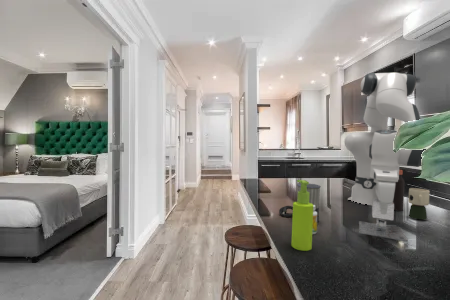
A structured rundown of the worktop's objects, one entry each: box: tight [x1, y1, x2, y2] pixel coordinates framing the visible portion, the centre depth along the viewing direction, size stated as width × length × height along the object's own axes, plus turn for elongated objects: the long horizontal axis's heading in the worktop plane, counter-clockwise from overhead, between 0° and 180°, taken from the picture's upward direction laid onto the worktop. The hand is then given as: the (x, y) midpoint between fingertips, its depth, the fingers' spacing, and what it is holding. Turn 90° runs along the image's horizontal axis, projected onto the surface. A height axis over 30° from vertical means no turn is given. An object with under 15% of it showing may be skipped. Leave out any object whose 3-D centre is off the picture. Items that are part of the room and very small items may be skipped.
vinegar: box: [393, 169, 405, 212], centre depth 123 cm, size 7×7×20 cm
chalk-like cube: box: [371, 199, 395, 221], centre depth 90 cm, size 6×6×6 cm
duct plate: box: [358, 218, 409, 242], centre depth 90 cm, size 14×14×4 cm
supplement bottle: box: [312, 205, 318, 235], centre depth 87 cm, size 5×5×10 cm
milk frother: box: [278, 182, 321, 225], centre depth 102 cm, size 14×16×15 cm
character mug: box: [407, 187, 431, 221], centre depth 107 cm, size 11×7×13 cm, turn 149°
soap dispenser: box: [290, 179, 313, 252], centre depth 75 cm, size 6×7×20 cm
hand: (382, 211), depth 90 cm, fingers closed on chalk-like cube, 6 cm apart
